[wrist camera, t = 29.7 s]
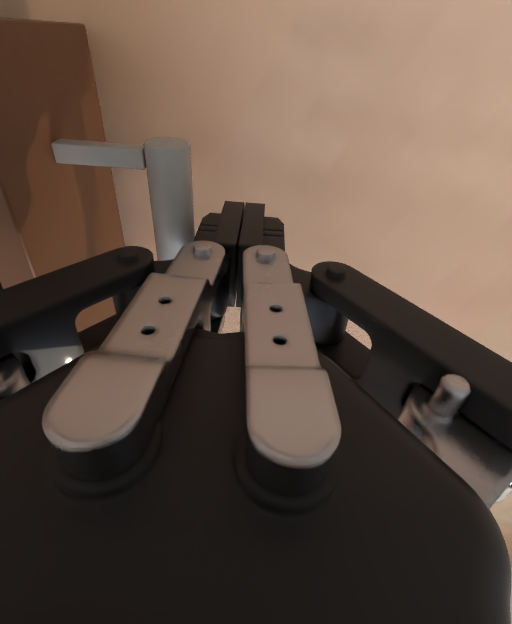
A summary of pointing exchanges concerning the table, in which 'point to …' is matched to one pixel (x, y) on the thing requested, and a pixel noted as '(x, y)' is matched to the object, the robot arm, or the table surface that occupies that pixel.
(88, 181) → the drawer
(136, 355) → the robot arm
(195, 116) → the table surface
